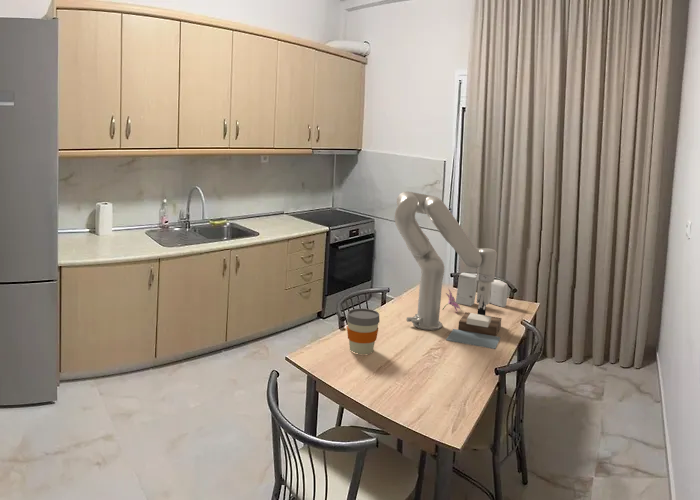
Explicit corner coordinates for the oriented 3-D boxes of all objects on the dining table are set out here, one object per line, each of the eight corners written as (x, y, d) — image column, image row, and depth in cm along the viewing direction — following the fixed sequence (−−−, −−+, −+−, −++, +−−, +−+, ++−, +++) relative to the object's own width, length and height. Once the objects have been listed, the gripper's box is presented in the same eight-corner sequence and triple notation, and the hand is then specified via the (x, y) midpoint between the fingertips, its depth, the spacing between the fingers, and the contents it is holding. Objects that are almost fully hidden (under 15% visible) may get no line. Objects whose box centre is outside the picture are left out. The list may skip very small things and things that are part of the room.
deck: (464, 320, 273) (465, 312, 272) (500, 326, 268) (501, 318, 267) (458, 330, 260) (459, 321, 260) (495, 336, 255) (496, 327, 254)
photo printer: (485, 302, 302) (487, 278, 299) (490, 300, 305) (493, 277, 302) (502, 307, 294) (504, 283, 292) (507, 306, 297) (510, 282, 294)
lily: (447, 318, 279) (459, 301, 277) (430, 302, 286) (442, 286, 284) (459, 320, 288) (471, 304, 286) (442, 304, 295) (453, 289, 293)
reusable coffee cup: (358, 359, 224) (360, 321, 221) (338, 347, 234) (340, 311, 231) (384, 352, 232) (386, 315, 228) (364, 342, 242) (366, 306, 238)
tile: (470, 318, 264) (470, 312, 264) (490, 321, 261) (491, 316, 260) (466, 323, 257) (467, 318, 256) (487, 327, 254) (488, 321, 253)
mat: (453, 329, 261) (453, 328, 261) (500, 337, 254) (500, 337, 254) (446, 340, 248) (446, 339, 248) (495, 349, 241) (495, 348, 241)
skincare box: (455, 303, 298) (458, 274, 295) (459, 300, 303) (461, 271, 300) (471, 306, 294) (474, 277, 291) (475, 303, 299) (478, 274, 296)
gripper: (491, 282, 252) (487, 324, 256) (496, 274, 266) (492, 313, 270) (473, 279, 255) (469, 321, 259) (479, 272, 268) (475, 311, 272)
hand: (481, 317), depth 264 cm, fingers closed
